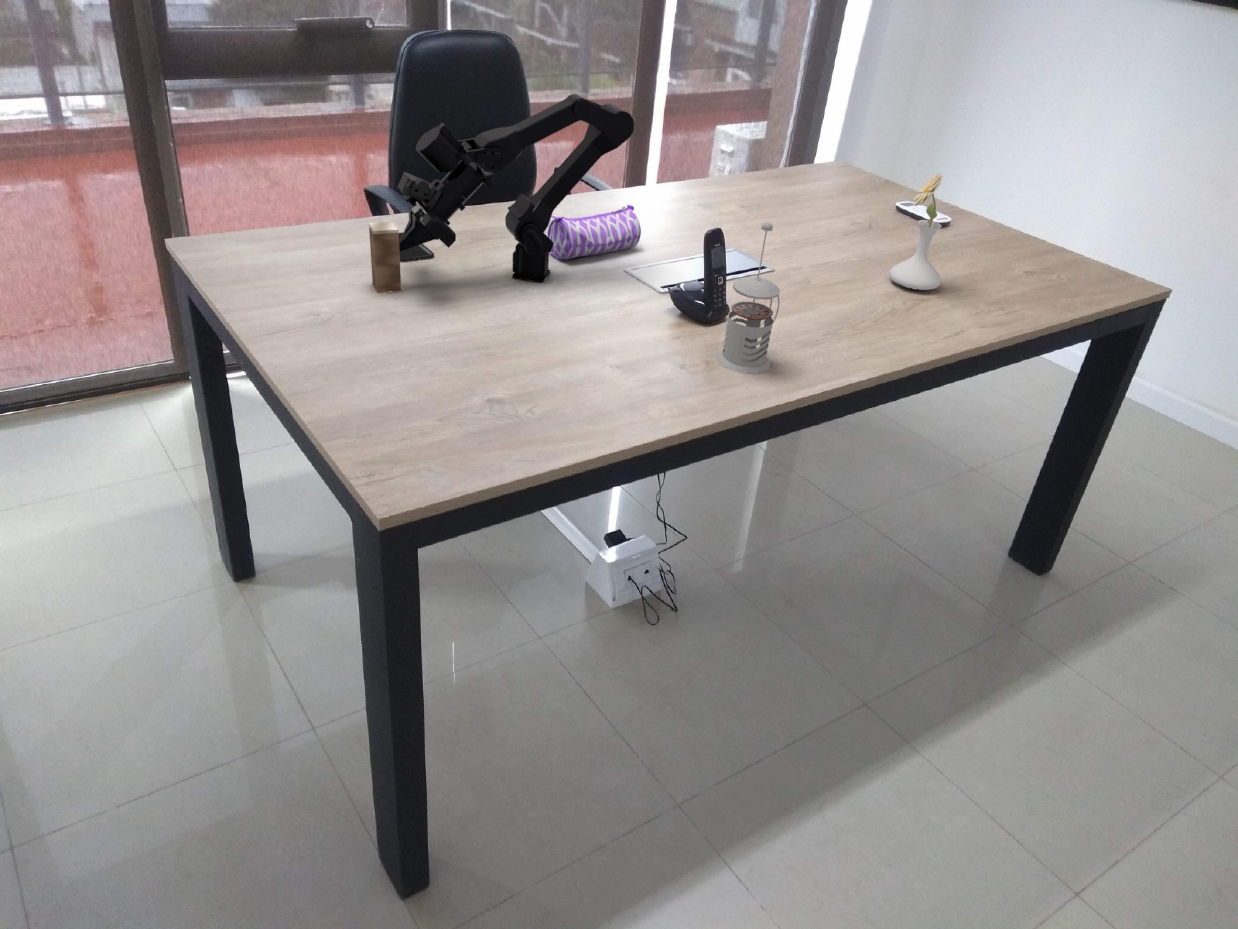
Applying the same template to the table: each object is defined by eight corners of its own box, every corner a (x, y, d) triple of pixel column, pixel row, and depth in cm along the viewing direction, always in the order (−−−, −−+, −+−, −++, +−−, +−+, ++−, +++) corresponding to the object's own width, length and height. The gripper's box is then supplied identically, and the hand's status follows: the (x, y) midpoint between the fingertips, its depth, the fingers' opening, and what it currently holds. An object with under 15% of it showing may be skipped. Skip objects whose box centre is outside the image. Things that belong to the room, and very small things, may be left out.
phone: (408, 231, 200) (435, 254, 189) (408, 236, 200) (436, 259, 190) (373, 235, 196) (399, 259, 185) (373, 240, 196) (399, 264, 186)
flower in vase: (895, 271, 208) (924, 159, 194) (944, 284, 203) (978, 171, 190) (877, 287, 198) (907, 171, 185) (929, 301, 194) (963, 183, 180)
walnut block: (396, 281, 177) (393, 221, 171) (401, 290, 174) (398, 229, 168) (372, 283, 176) (368, 222, 169) (377, 292, 172) (373, 230, 166)
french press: (704, 357, 161) (725, 218, 148) (745, 341, 168) (769, 207, 155) (747, 378, 155) (773, 236, 142) (788, 361, 163) (816, 224, 149)
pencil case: (617, 238, 211) (620, 197, 205) (644, 251, 205) (649, 209, 200) (541, 254, 197) (543, 211, 192) (568, 268, 192) (571, 224, 187)
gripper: (412, 145, 172) (356, 205, 174) (437, 173, 158) (376, 238, 160) (453, 185, 179) (399, 242, 181) (480, 216, 165) (422, 277, 167)
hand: (398, 249), depth 172 cm, fingers closed
